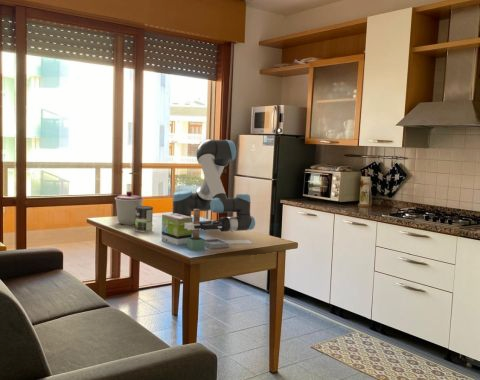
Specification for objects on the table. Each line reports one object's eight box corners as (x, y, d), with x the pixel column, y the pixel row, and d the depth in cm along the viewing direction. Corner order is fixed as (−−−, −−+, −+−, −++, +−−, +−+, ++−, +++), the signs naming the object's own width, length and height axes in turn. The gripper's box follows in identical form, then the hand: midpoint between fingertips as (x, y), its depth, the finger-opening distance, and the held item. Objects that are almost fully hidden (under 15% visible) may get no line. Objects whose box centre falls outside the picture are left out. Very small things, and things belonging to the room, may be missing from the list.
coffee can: (137, 232, 275) (138, 208, 274) (133, 229, 284) (133, 206, 283) (154, 231, 280) (155, 208, 278) (149, 228, 289) (150, 205, 288)
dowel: (191, 247, 240) (192, 209, 238) (197, 247, 241) (198, 208, 239) (193, 249, 237) (195, 209, 235) (199, 248, 239) (201, 209, 237)
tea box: (160, 241, 255) (161, 214, 253) (175, 238, 262) (176, 212, 261) (177, 246, 244) (178, 218, 243) (192, 243, 251) (193, 216, 250)
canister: (133, 220, 314) (133, 189, 312) (148, 224, 302) (149, 191, 300) (108, 222, 301) (109, 190, 299) (124, 227, 289) (124, 193, 287)
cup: (186, 248, 240) (186, 237, 240) (198, 247, 244) (199, 236, 243) (191, 251, 234) (192, 240, 234) (204, 250, 238) (205, 239, 237)
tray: (199, 244, 250) (199, 239, 250) (217, 243, 256) (218, 238, 255) (209, 249, 240) (209, 244, 240) (228, 247, 245) (228, 242, 245)
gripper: (234, 234, 240) (192, 237, 229) (220, 228, 254) (179, 230, 243) (235, 219, 240) (193, 221, 228) (220, 214, 254) (180, 216, 242)
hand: (186, 226), depth 235 cm, fingers closed on dowel, 3 cm apart
